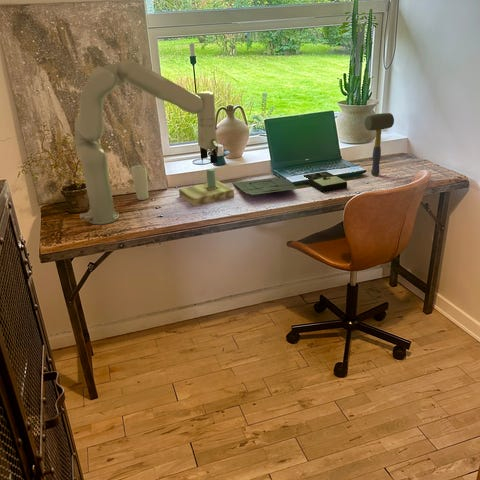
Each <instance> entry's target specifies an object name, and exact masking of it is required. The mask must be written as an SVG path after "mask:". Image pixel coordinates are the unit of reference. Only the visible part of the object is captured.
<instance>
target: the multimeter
mask: <svg viewBox="0 0 480 480" xmlns="http://www.w3.org/2000/svg"><path fill="white" fill-rule="evenodd" d="M303 176H304V177H306V178H308V179H309V185H308V186H310V187H311V188H313V189H315V190H317V191H318V192H320V193H322V194H326V193H329V192H330V191H331V192H335V191H336V190H337V191H342V190H347V189H348V182H347V181H346V180H344V179H342V178H340V177H338V176H336V175H335V174H333V173H331V172H329V171H327V170H326V171H321V172H313V173H308V174H307V173H306V174H303ZM325 192H326V193H325ZM331 192H330V193H331Z"/></svg>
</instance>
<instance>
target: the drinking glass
mask: <svg viewBox="0 0 480 480" xmlns="http://www.w3.org/2000/svg"><path fill="white" fill-rule="evenodd" d="M130 170H131V171H130V172H131V177H132V181H133V186H134V189H135V194H136V199H137V200H138V201H145V200H148V199H149V197H150V196H149V183H148V171H147V167H146V165H145V164H140V165H139V164H138V165H133V166H131V168H130Z"/></svg>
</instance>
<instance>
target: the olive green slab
mask: <svg viewBox="0 0 480 480" xmlns="http://www.w3.org/2000/svg"><path fill="white" fill-rule="evenodd" d="M215 185H216V189H215V190H208V183H207V182H205V183H200V184H196V185H192V186H188V187H184V188H179V189H178V193H179V197H180V198H181V199H183V200H184V201H186V202H187V203H188V204H190V205H191V206H193V207H198V206H202V205H206V204H211V203H214V202H218V201H222V200H226V199H231V198H235V189H233V188H232V187H230V186H228V185H226V184H224V183H222V182H221V181H219V180H215Z"/></svg>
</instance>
